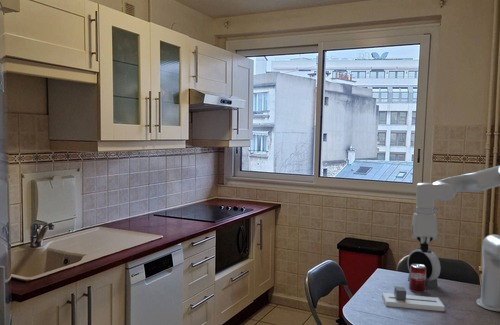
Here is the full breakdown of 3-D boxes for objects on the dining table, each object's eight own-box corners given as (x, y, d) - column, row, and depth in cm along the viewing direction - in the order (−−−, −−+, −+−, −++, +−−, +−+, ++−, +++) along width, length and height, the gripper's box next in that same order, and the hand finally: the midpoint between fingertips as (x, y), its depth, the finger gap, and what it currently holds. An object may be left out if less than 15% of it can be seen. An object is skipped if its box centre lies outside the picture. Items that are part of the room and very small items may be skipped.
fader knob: (403, 295, 185) (404, 287, 185) (405, 300, 180) (406, 291, 180) (394, 294, 186) (394, 286, 186) (396, 299, 181) (396, 290, 181)
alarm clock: (402, 279, 214) (404, 244, 212) (416, 276, 218) (418, 242, 217) (429, 290, 199) (431, 253, 198) (443, 287, 204) (445, 250, 203)
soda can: (426, 293, 195) (428, 268, 194) (410, 292, 196) (411, 267, 196) (423, 288, 202) (424, 264, 201) (407, 286, 203) (409, 262, 203)
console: (437, 302, 185) (438, 297, 185) (444, 311, 176) (444, 306, 175) (382, 297, 189) (382, 292, 189) (385, 305, 180) (385, 301, 179)
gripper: (440, 209, 185) (439, 250, 186) (405, 209, 187) (404, 249, 189) (445, 212, 178) (444, 254, 179) (409, 212, 180) (408, 253, 181)
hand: (424, 251), depth 184 cm, fingers closed
